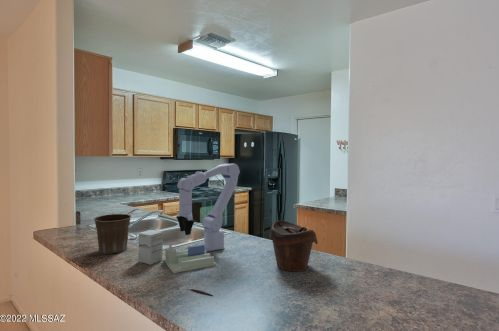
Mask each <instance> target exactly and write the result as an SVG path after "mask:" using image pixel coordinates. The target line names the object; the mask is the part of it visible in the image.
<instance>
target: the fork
mask: <svg viewBox="0 0 499 331" xmlns="http://www.w3.org/2000/svg"><path fill="white" fill-rule="evenodd" d="M173 284H174V285H175V287H177V288H178V289H179V290H180V289H182V288H184V287H185V285H184V284H182V282H181V281H178V282H173ZM185 290H187V291H188V290H190V291H192V292H194V293H197V294H201V295H206V296H210V297H214V295H213V294H211V293H210V292H209V293H208V292H205V291H203V290H198V289H193V288H188V287H186V288H185Z"/></svg>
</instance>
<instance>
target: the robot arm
mask: <svg viewBox="0 0 499 331" xmlns="http://www.w3.org/2000/svg"><path fill="white" fill-rule="evenodd" d="M240 173H241V171H240V168H239V166H238V164H236V163H221V164H219V165H217V166H215V167H213V168H211V169H209V170H208V169H207V170H206V171H204V172H203V171H199V170H198V171H195V173H194V174H191V175H187V176H186V178H185V177H182V178H180V179H179V180H178V182H177V183H176V186H177V189H179V193H178V196H179V200H178V201H179V202H178V203H179V204H178V205H179V208H178V213H176V220H177V222H178V225H179V230H180V232H184V235H185V236H189V235H191V233H192V229H193V226H194V225H195V224H194V223H195V222H196V220H195V219H194V218H193V217H194V216H193V211H192V210H193V208H192V207H193V203H192V202H193V193H192V192H193V190H194V188H195V187H198V186H200V185H202V184H204V183H206V182H207V179H210V178H212V177H214V176H217V175H220V174H221V176H222V178H223V179H224V181H225V184H224V186H223V187H222V190H221V192H220V193H219V196H218V197H217V199H216V202H215V204H214V205H213V207H212V209H211V210H210V211H208V212H207V214H205V216H204V217H203V218H202V220H201V225H202V227H203V230H204V232H203V236H204V238H203V245H205V250H206V252H211V251H218V250H224V249H225V233H224V231H223V229H221V228H222V226H223V225H222V224H223V220H224V217H223V214H224V211H225V209H226V207H227V206H228V204H229V202H230V199H231V197H232V195H233V193H234V192H235V189H236V187H237V185H238V179H239V175H240Z"/></svg>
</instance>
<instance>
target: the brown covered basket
mask: <svg viewBox="0 0 499 331" xmlns="http://www.w3.org/2000/svg"><path fill="white" fill-rule="evenodd" d="M268 236H269V239H270V240H272V245H273V246H272V247H273V251H274V256H275V262H276V266H277V267H278V268H279V269H281V270H283V271H286V272H302V271H305V270H307V269H308V266H309V260H310V256H311V252H312V249H313V243H315V244H316V245H317V244H318V237H317V233H316V232H315V231H314V229H308V228H307V227H305V226H303V227H302V226H300V225H298V224H294V223H292V222H289V221H285V220H277V221H275V222H274V223H273V224H272V225H271V228H270V232H269V235H268Z"/></svg>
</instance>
